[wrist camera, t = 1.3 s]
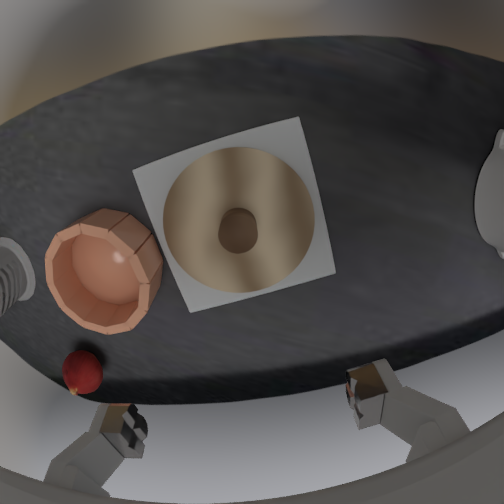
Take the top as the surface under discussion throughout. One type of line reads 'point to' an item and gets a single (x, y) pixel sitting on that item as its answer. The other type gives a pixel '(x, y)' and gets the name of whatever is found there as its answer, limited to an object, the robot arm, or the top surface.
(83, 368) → the pomegranate
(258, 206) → the lid
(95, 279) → the bowl
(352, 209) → the top surface
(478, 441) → the robot arm
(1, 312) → the french press
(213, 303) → the mat
